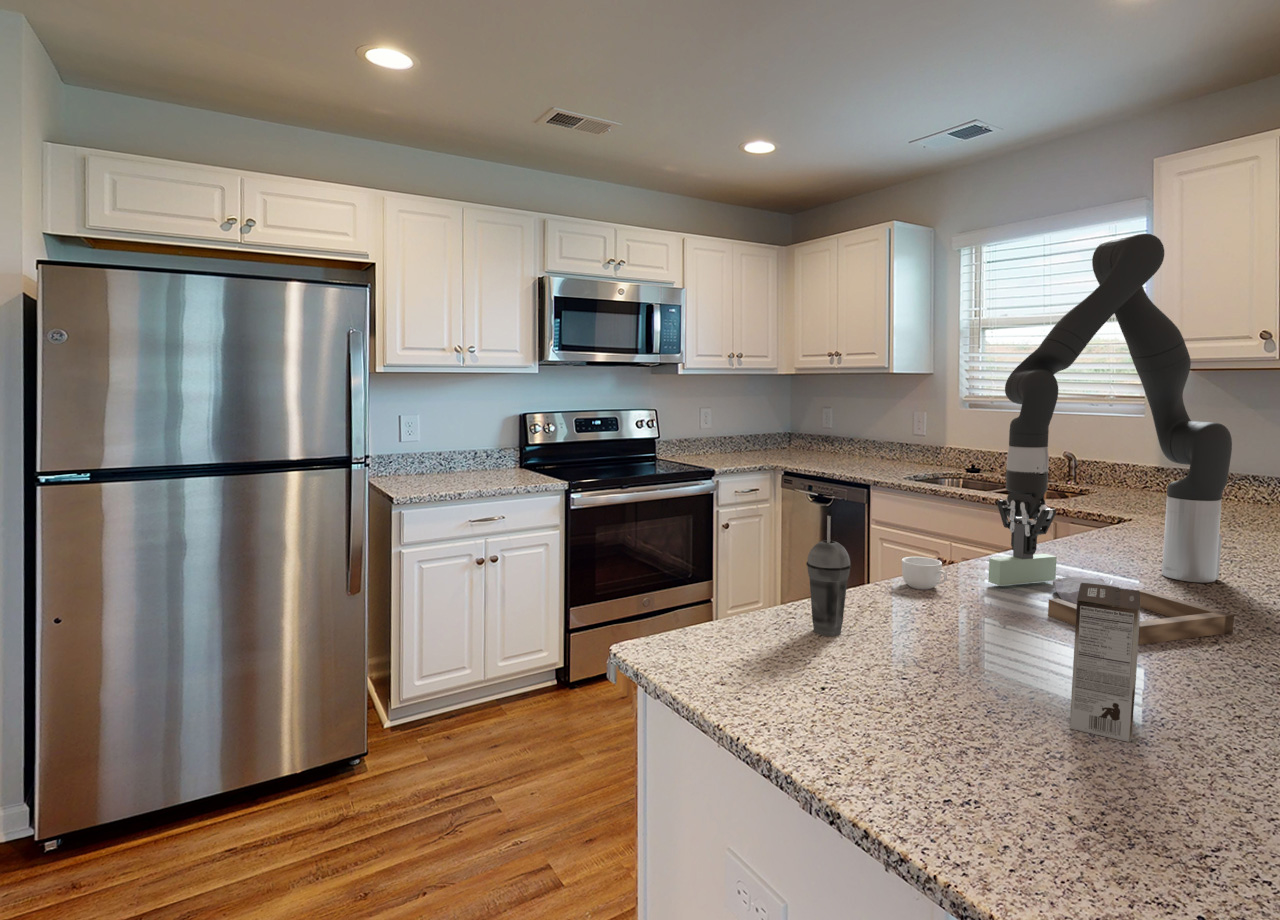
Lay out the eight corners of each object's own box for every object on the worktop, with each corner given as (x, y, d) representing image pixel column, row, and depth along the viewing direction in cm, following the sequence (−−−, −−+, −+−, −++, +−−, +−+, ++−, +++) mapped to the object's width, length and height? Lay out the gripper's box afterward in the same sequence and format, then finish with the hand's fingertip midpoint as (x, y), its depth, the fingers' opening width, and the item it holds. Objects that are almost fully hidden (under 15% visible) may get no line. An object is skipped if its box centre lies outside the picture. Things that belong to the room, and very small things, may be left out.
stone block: (1071, 618, 135) (1129, 610, 133) (1066, 592, 135) (1125, 584, 133) (1047, 601, 147) (1101, 594, 145) (1043, 578, 147) (1096, 570, 145)
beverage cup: (850, 627, 125) (853, 512, 123) (848, 641, 118) (851, 519, 116) (807, 622, 127) (809, 510, 125) (802, 636, 120) (804, 517, 118)
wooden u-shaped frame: (1142, 604, 136) (1143, 589, 136) (1232, 632, 121) (1234, 614, 121) (1047, 615, 130) (1048, 599, 130) (1130, 646, 115) (1131, 627, 115)
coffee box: (1073, 702, 95) (1080, 581, 93) (1133, 714, 91) (1141, 588, 90) (1067, 729, 87) (1074, 598, 86) (1132, 743, 84) (1140, 607, 82)
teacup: (892, 584, 151) (893, 559, 151) (918, 579, 155) (919, 555, 154) (932, 596, 143) (933, 569, 142) (958, 591, 146) (959, 564, 146)
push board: (999, 585, 147) (1001, 527, 146) (988, 581, 150) (990, 524, 149) (1055, 580, 151) (1058, 523, 149) (1043, 576, 153) (1046, 520, 152)
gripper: (986, 465, 153) (983, 546, 155) (1039, 473, 140) (1035, 561, 142) (1016, 464, 155) (1012, 543, 157) (1070, 471, 142) (1066, 558, 144)
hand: (1023, 551), depth 149 cm, fingers closed on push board, 2 cm apart
